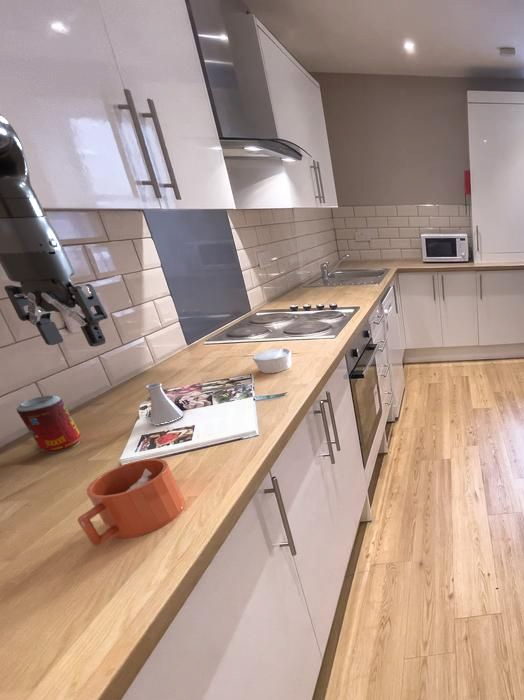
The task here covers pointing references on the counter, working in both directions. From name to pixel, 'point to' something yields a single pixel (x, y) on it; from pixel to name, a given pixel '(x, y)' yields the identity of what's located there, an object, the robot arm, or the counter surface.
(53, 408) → the soda can
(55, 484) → the counter surface
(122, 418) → the counter surface
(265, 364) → the ramekin
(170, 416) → the flask
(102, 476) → the mug
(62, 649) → the counter surface
